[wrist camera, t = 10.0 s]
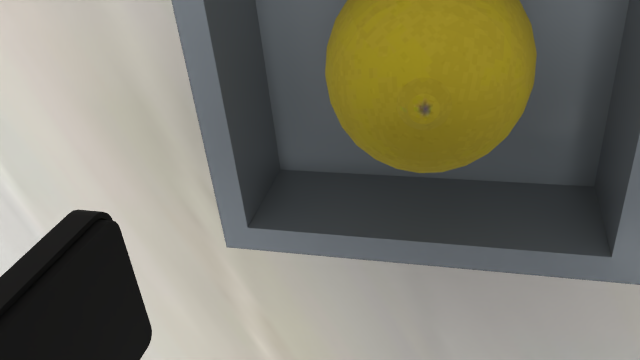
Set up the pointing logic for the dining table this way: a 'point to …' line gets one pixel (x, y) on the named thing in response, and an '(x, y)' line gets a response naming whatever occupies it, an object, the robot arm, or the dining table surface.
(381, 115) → the lemon
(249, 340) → the dining table surface
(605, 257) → the grey shallow tray
